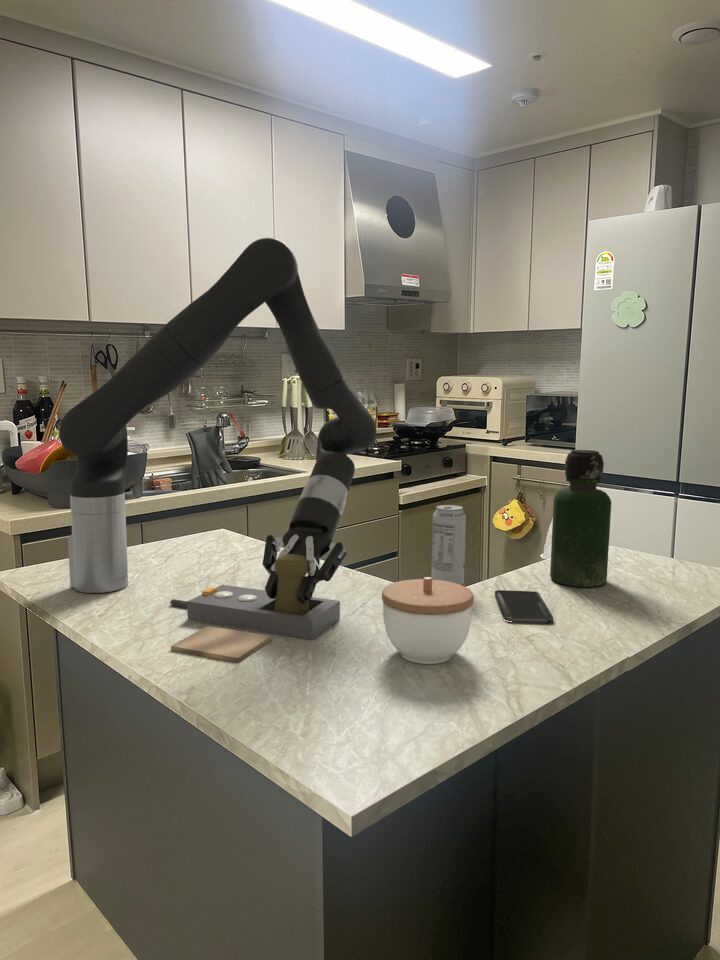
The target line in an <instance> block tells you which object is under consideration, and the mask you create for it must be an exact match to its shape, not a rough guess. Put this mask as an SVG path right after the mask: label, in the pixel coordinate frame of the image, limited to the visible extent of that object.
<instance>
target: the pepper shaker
mask: <svg viewBox="0 0 720 960" xmlns="http://www.w3.org/2000/svg"><path fill="white" fill-rule="evenodd" d="M275 571H276V574H277V575H278V585H277V593H276V600H275V608H274V612H281V613H287V614H294V615H301V616H303V615H304V614H306V613H307V612H309V603H308V601H307V603H306V604H304V603H301V602H300V600H299V599H298V594H299V591H300V589H301V586H302V583H303V581H304V578H305V576H306V575H308V561H307V559H306V558H305V557H304V556H302V555H299V554H286V555H282V556H280V557H278V556H277V559H276V562H275Z"/></svg>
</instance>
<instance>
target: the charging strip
mask: <svg viewBox="0 0 720 960" xmlns="http://www.w3.org/2000/svg"><path fill="white" fill-rule="evenodd" d="M201 592H202V593H201V594H199V595H197V596H195V597H193V598H190V599H189V600H183V599H182V600H181V599H174V598H173V599H171V600H170V602H169V604H171V605H172V606H175V607H181V608H186V610H187V620H188V621H196V622H201V623H207V624H214V625H219V626H226V627H232V628H237V629H244V630H250V631H256V632H263V633H268V634H274V635H279V636H286V637H292V638H293V637H294V638H298V639H299V638H300V639H306V640H309V641H310V640H311V641H313V640H314V639H316V637H319V635H321V634H323V632H324V631H326V630H327V629H329V628H330V627H332V626H333V625H334V624H336V623H337V621H339V620H341V601H340V600H336V599H335V600H334V599H328V598H323V597H322V598H321V597H314V596H312V598H311V599H310V600H308V603H309V612H307V613H306V614H304V615H303V616H301V615H294V614H287V613H281V612H274V608H275V600H276V598H275V599H270V598H269V597H268V595H267V594H266V591H265V589H258V588H257V589H256V588H250V587H249V588H248V587H241V586H235V585H227V584H221V585H219V586H217V587H208V588H206V589H204V590H203V591H201Z"/></svg>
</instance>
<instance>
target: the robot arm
mask: <svg viewBox="0 0 720 960" xmlns="http://www.w3.org/2000/svg"><path fill="white" fill-rule="evenodd" d="M300 277H301V276H300V274H299V267H298V260H297V259H296V256H295V254H294V253H293V252H292V249H290V247H289V246H288V245H287V244H286V243H285V242H284V241H281V240H280V239H277V238H274V237H262V238H258V239H256V240H254V241H252V242H251V243H250V244H248V246H246V247H245V249H244V250H243V251H242V252H241V254H239V255H238V257H237V258H236V259H235V261H234V262H233V263H232V264H231V265H230V266H229V268H228V269H227V270H226V271H225V272H224V273H223V274H222V275H221V277H220V278H219V279H218V280H217V281H216V282H215V283H214V284H213V285H212V286H211V287H210V288H208V290H206V291H205V292H204V293H203V294H201V295H200V296H198V297H196V299H194V300H193V301H192V302H190V304H188V305H187V306H186V307H184V308H183V309H182V310H181V311H179V313H177V314H176V315H175V316H174V317H172V318H171V319H170V320H169V321H168V322H167V323H166V324H165V325H164V326H163V327H161V328H160V329H158V331H157V332H156V333H155V334H154V335H153V336H152V337H151V338H149V340H147V341H146V343H145V344H144V345H143V346H142V347H140V349H138V351H136V353H134V354H133V355H132V357H130V358H129V359H128V360H127V361H126V363H125V364H123V366H122V367H121V368H120V369H119V370H118V371H117V372H116V373H115V374H114V375H113V376H112V377H111V378H110V379H109V380H108V381H106V382H105V383H104V384H103V385H101V386H100V387H99V388H97V389H96V390H95V391H93V392H92V393H91V394H90V395H89V396H86V398H84V399H82V400H81V401H80V402H79V403H77V404H76V405H74V406H73V407H72V408H71V409H69V410H68V411H67V413H65V414H64V416H63V418H62V419H61V423H60V426H59V428H58V430H59V431H58V437H59V441H60V443H61V446H62V447H63V449H64V450H66V452H67V453H69V454H71V455H73V456H75V457H76V458H77V459H76V460H77V461H76V467H75V471H74V473H73V475H72V477H71V478H70V479H69V480H70V481H69V497H70V498H69V500H70V501H69V502H70V517H71V519H70V521H71V534H70V535H68V537H67V542H68V543H67V545H68V549H67V550H68V565H69V583H70V584H69V585H70V586H69V587H70V588H73V589H75V591H77V592H81V593H85V594H102V593H110V592H114V591H118V590H122V589H124V588H126V587H127V586H128V585H129V571H128V567H129V566H128V545H127V543H128V541H127V540H128V539H127V519H126V495H125V491H126V490H125V483H126V479H127V477H128V469H129V468H128V463H129V462H128V460H129V459H128V457H129V455H128V454H129V451H128V450H129V448H128V444H129V443H128V441H129V440H128V428H127V425H128V424H129V423H130V421H132V420H133V419H134V418H135V417H136V416H137V415H138V414H139V413H140V412H141V411H142V410H144V409H146V408H147V407H149V406H150V405H152V404H153V403H156V402H157V401H159V400H161V399H162V398H164V397H166V396H167V395H169V394H170V393H172V392H173V391H175V390H176V389H178V388H179V387H180V386H182V385H183V384H184V383H186V382H187V381H188V380H189V379H191V378H192V377H193V376H194V375H196V373H197V372H199V370H200V369H202V368H203V367H204V366H205V365H206V364H207V363H208V362H209V361H210V360H211V359H212V358H213V357H214V356H215V355H216V354H217V353H218V351H219V350H220V349H221V348H222V346H224V344H225V343H226V341H227V340H228V338H229V337H230V336H231V334H233V331H235V329H236V328H237V327H238V326H239V324H241V323H242V321H243V320H245V319H246V318H247V317H248V316H250V314H251V313H253V312H254V311H255V310H257V309H258V308H259V307H260V306H262V305H263V304H264V303H265V304H266V306H267V307H268V309H269V310H270V312H271V313H272V316H273V317H274V319H275V320H276V322H277V325H278V327H279V329H280V330H281V333H282V336H283V339H284V340H285V343H286V346H287V349H288V352H289V355H290V357H291V360H292V362H293V365H294V367H295V370H296V372H297V375H298V376H299V379H300V381H301V384H302V387H303V388H304V390H305V392H306V394H307V395H308V399H309V400H310V402H311V404H312V405H313V406H314V407H315V409H320V410H324V409H326V410H328V409H329V410H331V411H333V413H334V415H336V416H337V417H334V418H331V419H329V420H327V421H326V422H325V423H324V424H323V425H322V426H321V428H320V430H319V431H318V435H317V441H316V442H317V443H316V453H315V463H314V465H313V468H312V471H311V474H310V475H309V478H308V481H307V482H306V484H305V486H303V487H304V488H303V490H302V492H301V494H300V497H299V500H298V502H297V504H296V507H295V510H294V512H293V514H292V516H291V519H290V522H289V527H288V530H287V531H286V532H285V533H284V534H283V536H281V537H279V536H278V537H274V536H273V535H271V534H269V535H268V536H266V539H265V545H264V550H263V559H262V567H264V569H265V570H266V572H267V573H268V574H269V577H268V579H267V582H266V584H265V586H264V590H265V591H266V594H267V595H268V597H269V598H270V599H275V598H276V593H277V585H278V575H277V574H276V571H275V562H276V560H277V558H278V557H280V556H282V555H286V554H299V555H302V556H304V557H305V558H306V559H307V561H308V572H307V576H306V575H305V578H304V581H303V583H302V586H301V589H300V591H299V594H298V599H299V600H300V602H301V603H304V604H306V603H307V601H308V600H310V599H311V598H312V597H313V596H314V595H313V594H314V592H315V589H316V588H317V587H316V586H317V584H318V583H319V582H321V581H324V582H329V581H331V580H332V578H333V577H334V575H335V574H336V572H337V570H338V568H339V566H340V565H341V564H342V562H343V561H344V560H345V557H346V556H347V551H346V549H345V546H344V545H343V543H342V542H340V541H339V542H337V543H336V542H333V539H334V537H335V534H336V532H337V529H338V526H339V523H340V522H341V521H340V519H341V517H342V515H343V513H344V510H345V506H346V502H347V496H348V493H349V491H350V487H351V485H352V482H353V479H354V476H355V471H356V467H355V463H354V461H353V460H352V459H351V458H350V457H349V456H348V455H350V454H354V453H357V452H361V451H364V450H367V449H369V448H371V447H372V446H374V444H375V442H376V439H377V436H378V435H377V426H376V425H377V424H376V423H375V420H374V417H373V416H372V414H371V413H370V411H369V410H368V409H367V408H366V407H365V405H364V404H363V403H362V402H361V401H360V399H359V398H358V397H357V396H356V394H355V393H354V392H353V391H352V390H351V388H350V387H349V386H348V384H347V383H346V380H345V379H344V376H343V374H342V371H341V369H340V367H339V365H338V363H337V360H336V359H335V356H334V354H333V352H332V351H331V348H330V347H329V344H328V342H327V341H326V339H325V338H324V337H325V336H323V334H322V332H321V330H320V328H319V326H318V323H317V322H316V319H315V318H314V316H313V313H312V311H311V308H310V306H309V303H308V301H307V298H306V296H305V293H304V292H305V291H304V289H303V285H302V282H301V279H300ZM283 546H284V547H283ZM282 547H283V549H282ZM281 549H282V550H281ZM278 553H279V554H278ZM327 553H328V556H326V559H325V560H324V562H323V564H322V565H321V559H322V557H324V556H325V555H326V554H327Z"/></svg>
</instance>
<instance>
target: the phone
mask: <svg viewBox="0 0 720 960" xmlns="http://www.w3.org/2000/svg"><path fill="white" fill-rule="evenodd" d="M494 598H495V600H496V603H497V606H498V608H499V610H500V614H501V617H502V619H503V618H504V619H505V620H508V621H512V622H515V623H514V624H533V625H534V624H535V625H536V624H539V625H550V624H553V623H554V616H553V614H552V612H551V611H550V610H549V608H548V606H547V604H546V603H545V601H544V599H543V597H542V596H541V594H540V593H539V592H537V591H534V590H533V591H531V590H530V591H529V590H507V589H506V590H505V589H504V590H503V589H502V590H501V589H500V590H499V589H498V590H495V591H494ZM504 619H503V620H504Z"/></svg>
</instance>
